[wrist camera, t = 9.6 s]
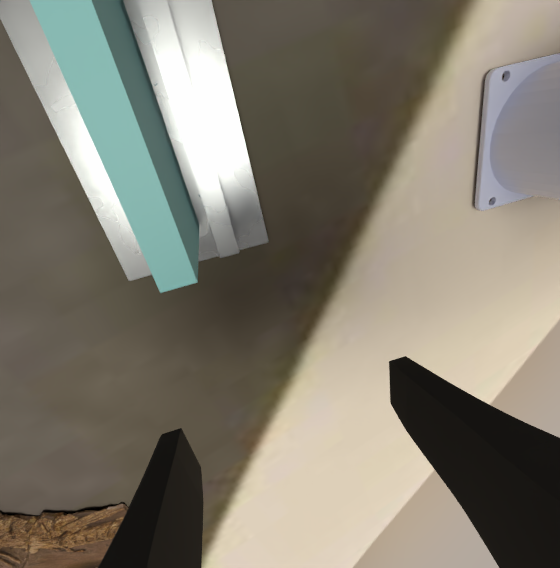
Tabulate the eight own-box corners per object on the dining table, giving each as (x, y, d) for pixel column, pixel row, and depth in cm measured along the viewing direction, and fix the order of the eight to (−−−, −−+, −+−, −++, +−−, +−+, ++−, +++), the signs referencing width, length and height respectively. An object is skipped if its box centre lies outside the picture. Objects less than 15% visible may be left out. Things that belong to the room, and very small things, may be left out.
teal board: (91, -95, 11) (-75, -441, 4) (199, 224, 17) (197, 282, 10) (56, -90, 11) (-167, -439, 4) (177, 230, 16) (160, 293, 10)
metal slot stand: (167, -174, 11) (158, -255, 9) (266, 238, 19) (275, 252, 16) (-71, -145, 10) (-147, -225, 8) (131, 275, 18) (121, 295, 15)
